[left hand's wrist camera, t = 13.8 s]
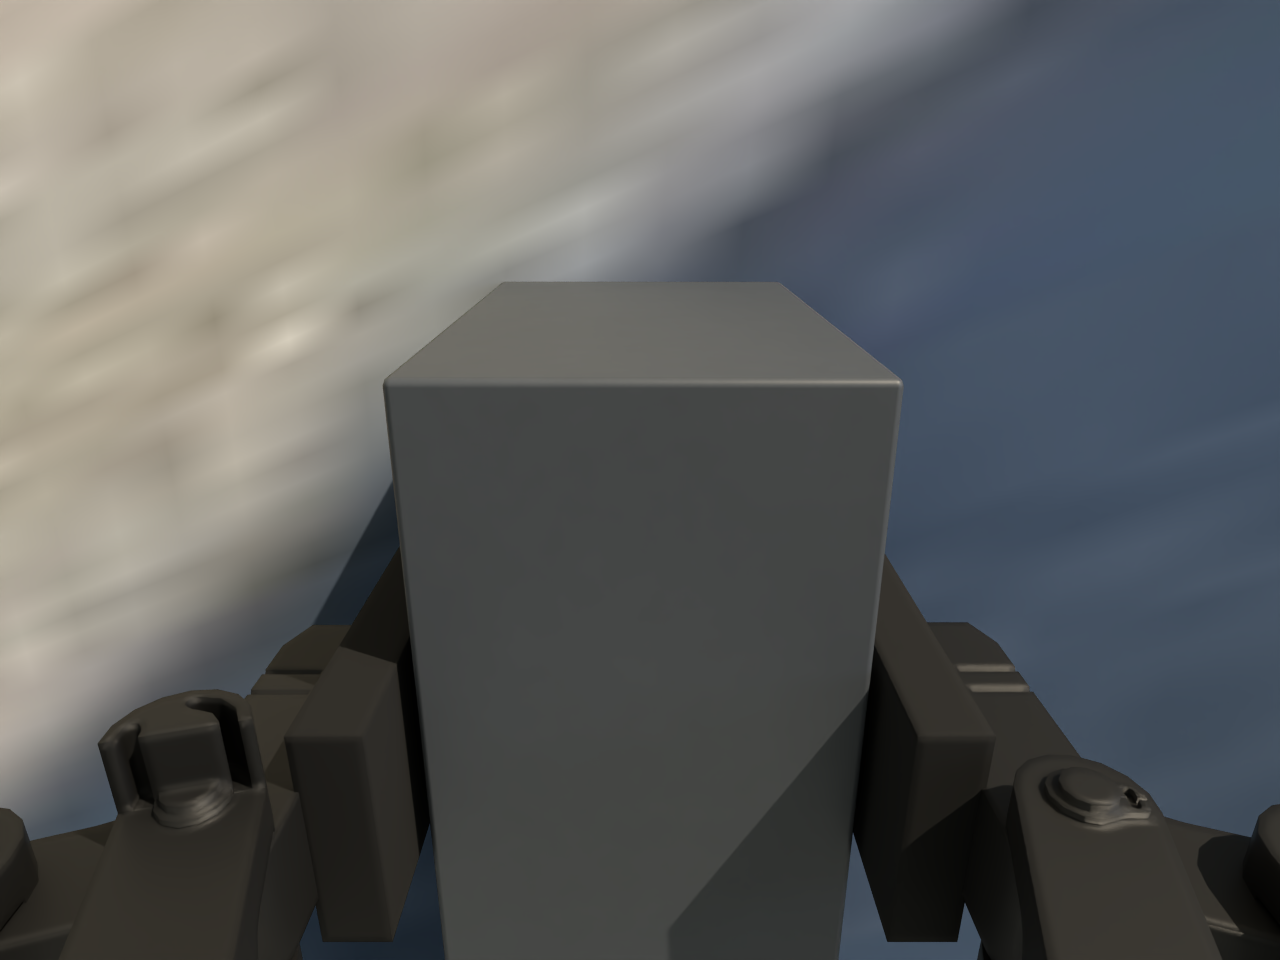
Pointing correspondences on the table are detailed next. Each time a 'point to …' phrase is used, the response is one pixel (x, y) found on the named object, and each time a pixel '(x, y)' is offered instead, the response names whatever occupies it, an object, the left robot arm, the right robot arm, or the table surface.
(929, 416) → the table surface
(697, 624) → the beam
